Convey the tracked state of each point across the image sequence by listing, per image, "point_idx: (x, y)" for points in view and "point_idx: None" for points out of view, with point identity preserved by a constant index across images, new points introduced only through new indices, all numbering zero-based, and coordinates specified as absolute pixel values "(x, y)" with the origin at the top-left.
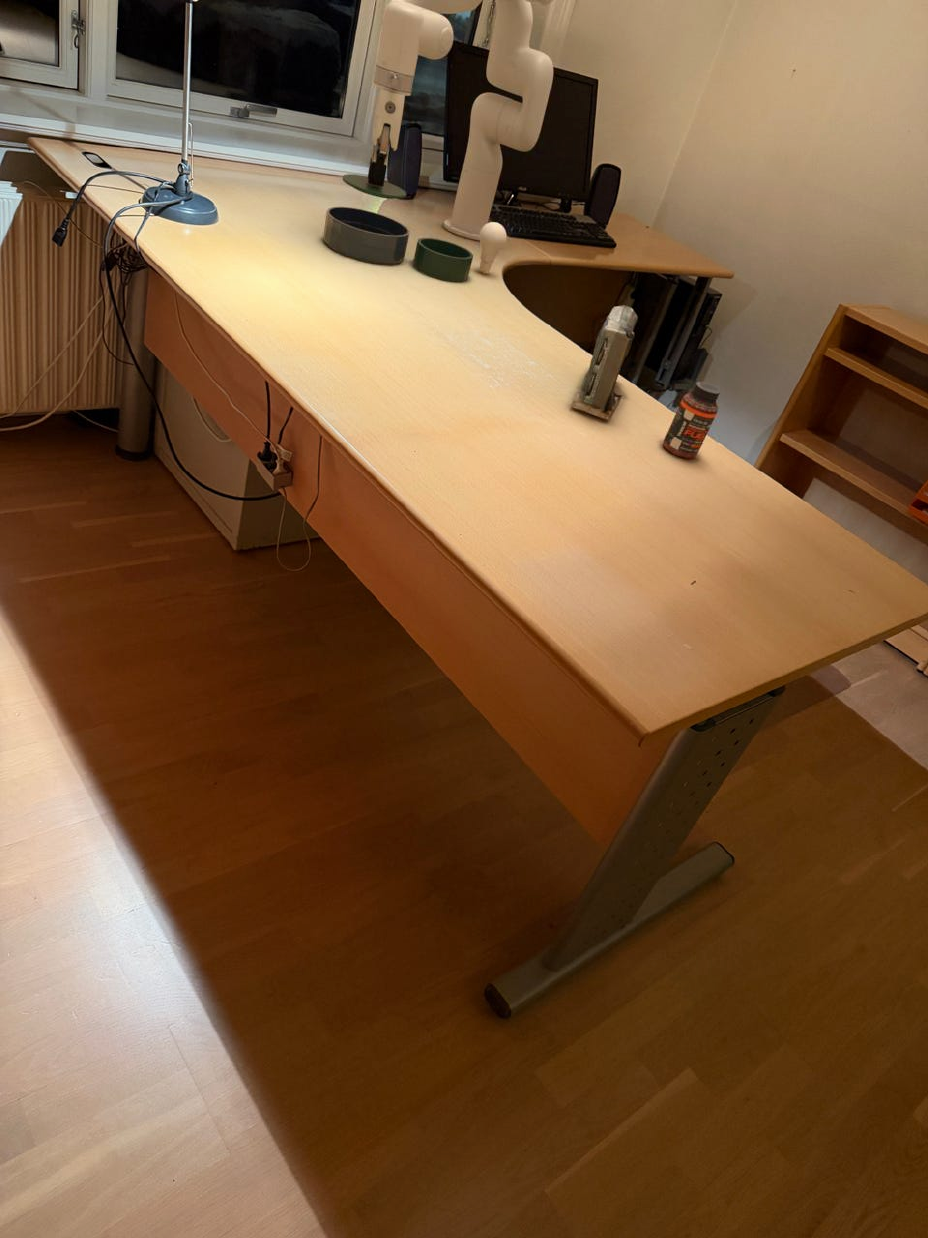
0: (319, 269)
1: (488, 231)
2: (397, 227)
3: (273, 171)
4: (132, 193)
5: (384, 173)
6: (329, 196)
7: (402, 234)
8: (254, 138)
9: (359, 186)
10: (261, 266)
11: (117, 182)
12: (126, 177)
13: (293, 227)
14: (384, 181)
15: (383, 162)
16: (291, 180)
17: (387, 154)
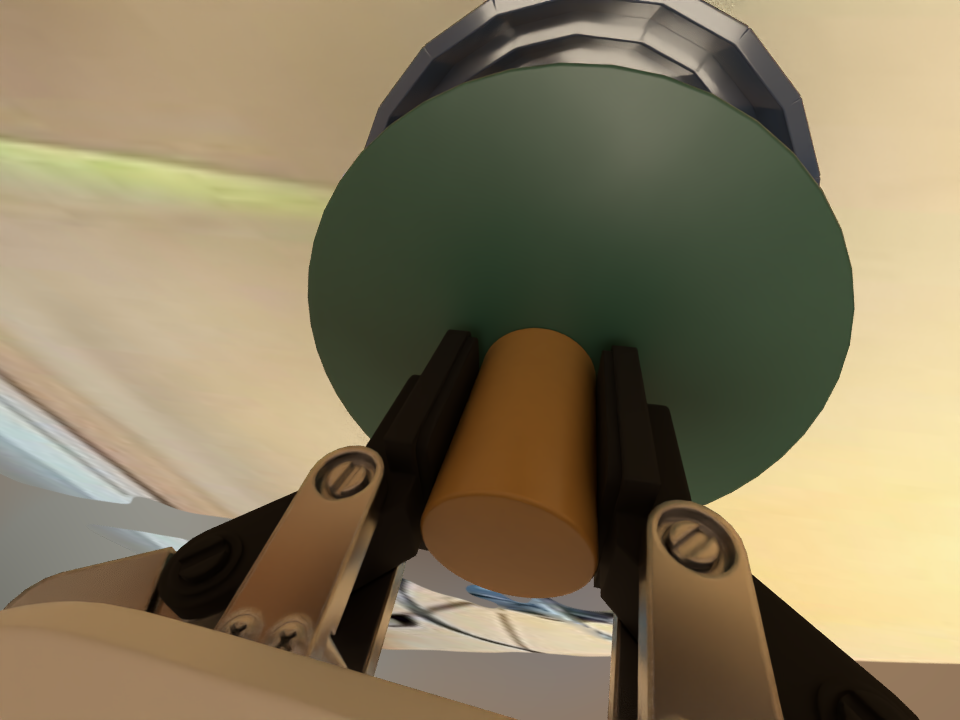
0: (914, 408)
1: None
2: (430, 76)
3: (73, 411)
4: (514, 618)
5: (646, 425)
6: (74, 302)
7: (491, 34)
8: None
9: (708, 486)
10: (926, 536)
11: (472, 622)
12: (431, 609)
13: None
14: (316, 278)
15: (761, 586)
16: (81, 383)
17: (769, 698)
